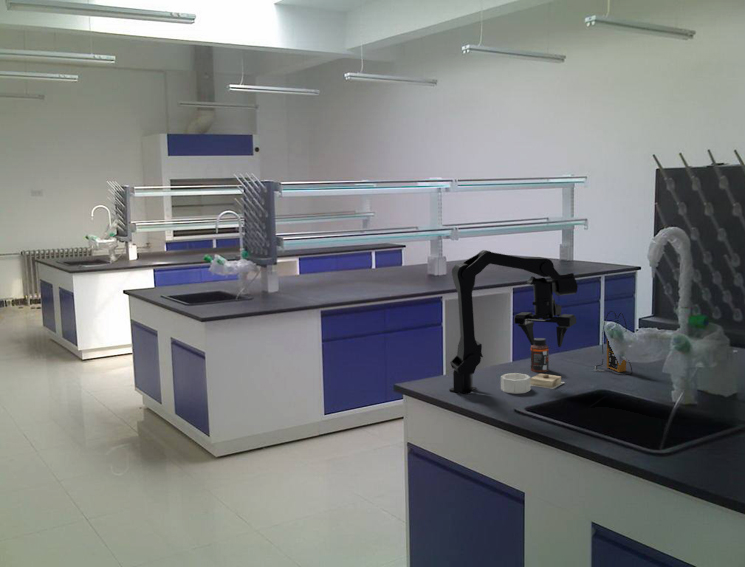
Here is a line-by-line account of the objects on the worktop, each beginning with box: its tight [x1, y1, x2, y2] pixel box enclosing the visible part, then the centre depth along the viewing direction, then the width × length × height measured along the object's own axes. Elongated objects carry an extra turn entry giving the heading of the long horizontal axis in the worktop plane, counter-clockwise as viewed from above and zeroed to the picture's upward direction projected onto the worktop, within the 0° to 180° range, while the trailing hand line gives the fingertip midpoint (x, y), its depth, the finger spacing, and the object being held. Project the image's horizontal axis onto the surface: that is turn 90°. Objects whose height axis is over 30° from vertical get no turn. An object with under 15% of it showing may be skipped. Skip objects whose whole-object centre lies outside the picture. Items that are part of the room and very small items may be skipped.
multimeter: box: [594, 310, 633, 376], centre depth 244 cm, size 15×10×20 cm
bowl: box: [500, 372, 531, 394], centre depth 225 cm, size 8×8×4 cm
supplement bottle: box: [530, 337, 550, 373], centre depth 247 cm, size 6×6×11 cm
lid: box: [530, 373, 562, 389], centre depth 230 cm, size 7×7×3 cm
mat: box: [530, 381, 566, 390], centre depth 230 cm, size 9×9×1 cm
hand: (545, 345), depth 230 cm, fingers open, 9 cm apart
